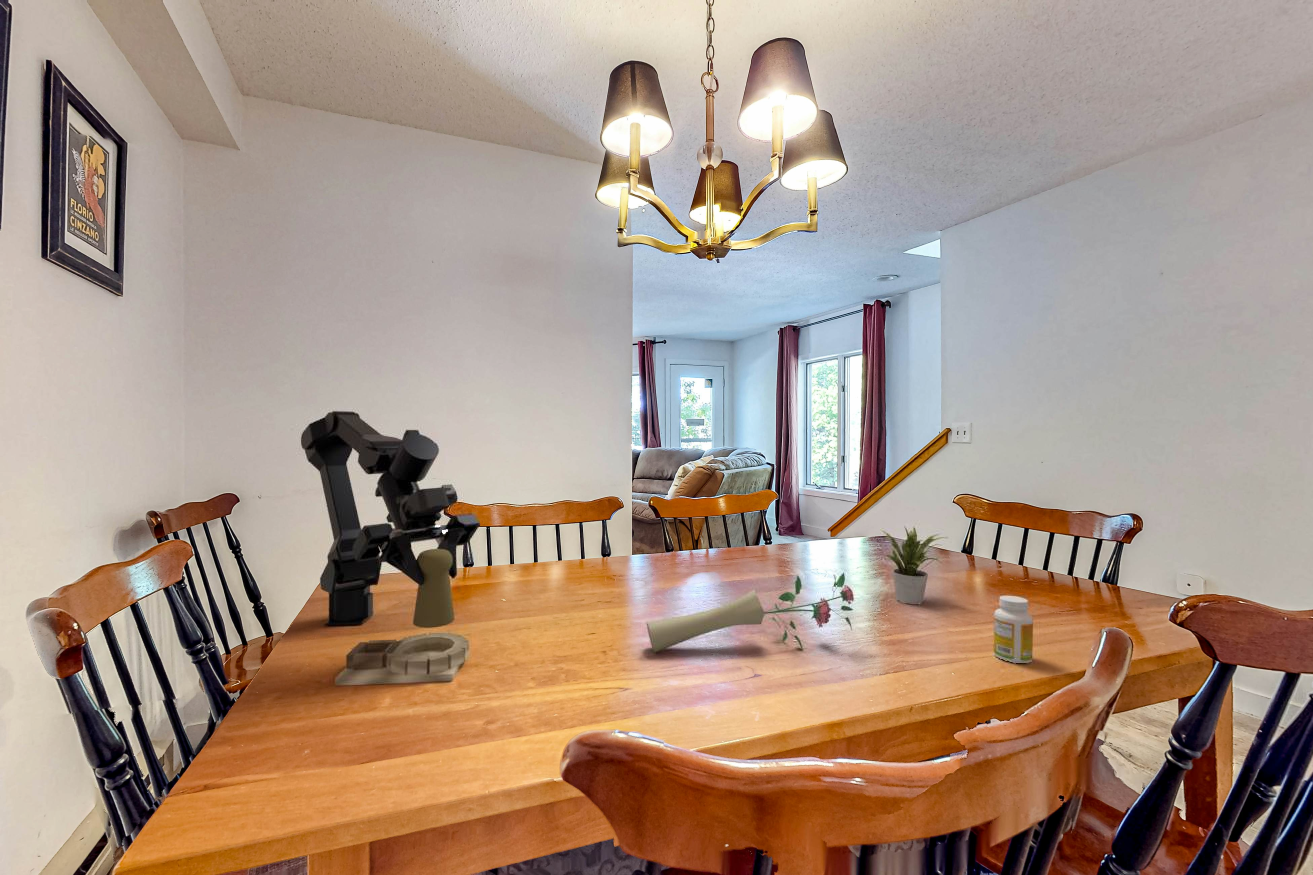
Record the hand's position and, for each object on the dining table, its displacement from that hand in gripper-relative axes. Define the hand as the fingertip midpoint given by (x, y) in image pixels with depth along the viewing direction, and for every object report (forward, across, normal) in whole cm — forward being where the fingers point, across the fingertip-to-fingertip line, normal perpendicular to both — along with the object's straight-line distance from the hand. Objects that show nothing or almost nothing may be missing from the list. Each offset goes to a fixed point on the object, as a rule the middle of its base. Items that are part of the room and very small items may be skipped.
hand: (438, 580), depth 89 cm
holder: (+7, -3, +11) cm, 14 cm away
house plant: (+41, +84, -23) cm, 96 cm away
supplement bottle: (+56, +63, -38) cm, 93 cm away
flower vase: (+32, +39, -13) cm, 52 cm away
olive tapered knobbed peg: (+4, 0, +6) cm, 7 cm away
